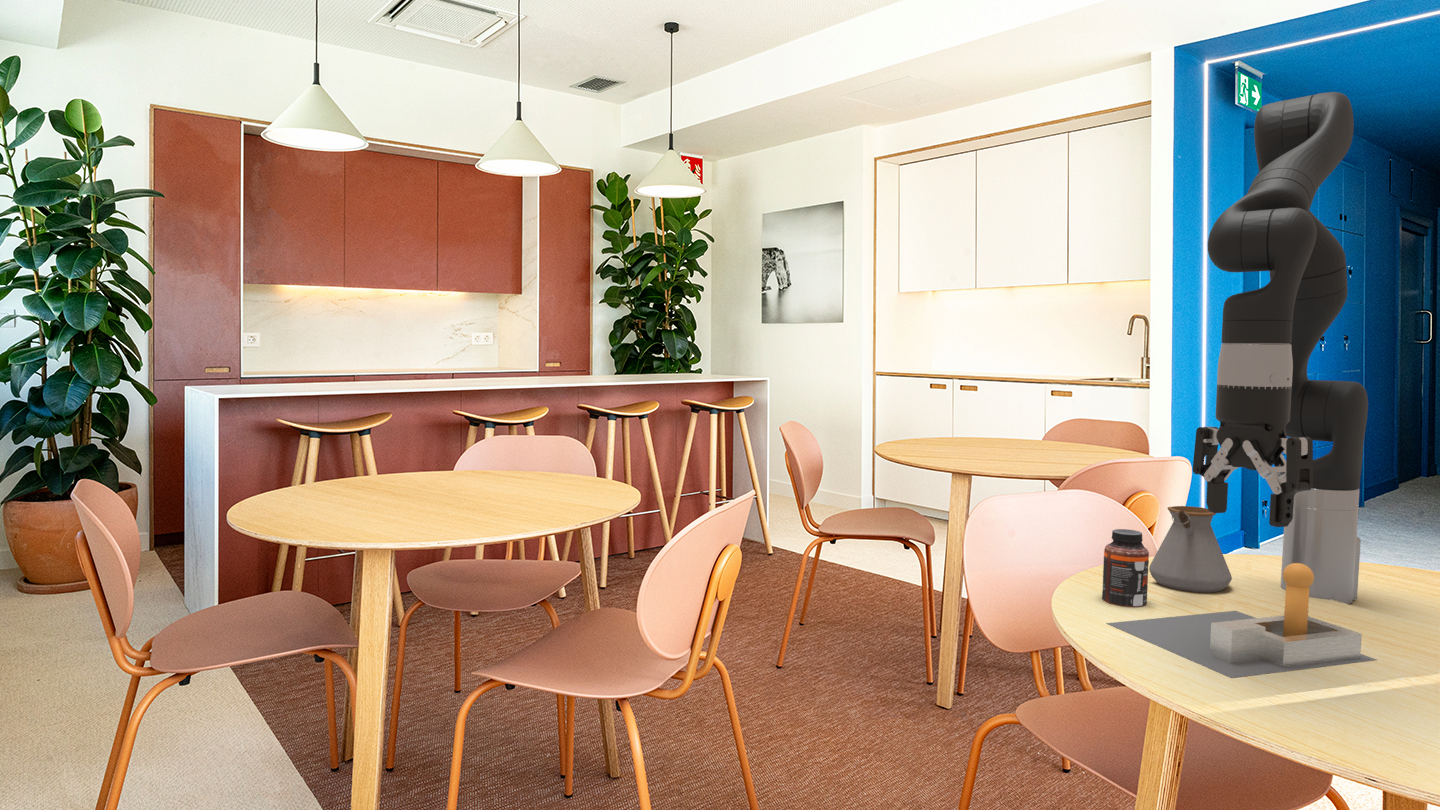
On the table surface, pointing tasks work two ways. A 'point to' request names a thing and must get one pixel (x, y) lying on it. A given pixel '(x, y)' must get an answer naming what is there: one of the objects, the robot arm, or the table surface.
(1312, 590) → the robot arm
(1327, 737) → the table surface
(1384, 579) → the table surface
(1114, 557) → the supplement bottle
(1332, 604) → the table surface
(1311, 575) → the pin
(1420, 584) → the table surface
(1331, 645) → the steel link
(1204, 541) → the coffee pot
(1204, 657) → the rubber mat
